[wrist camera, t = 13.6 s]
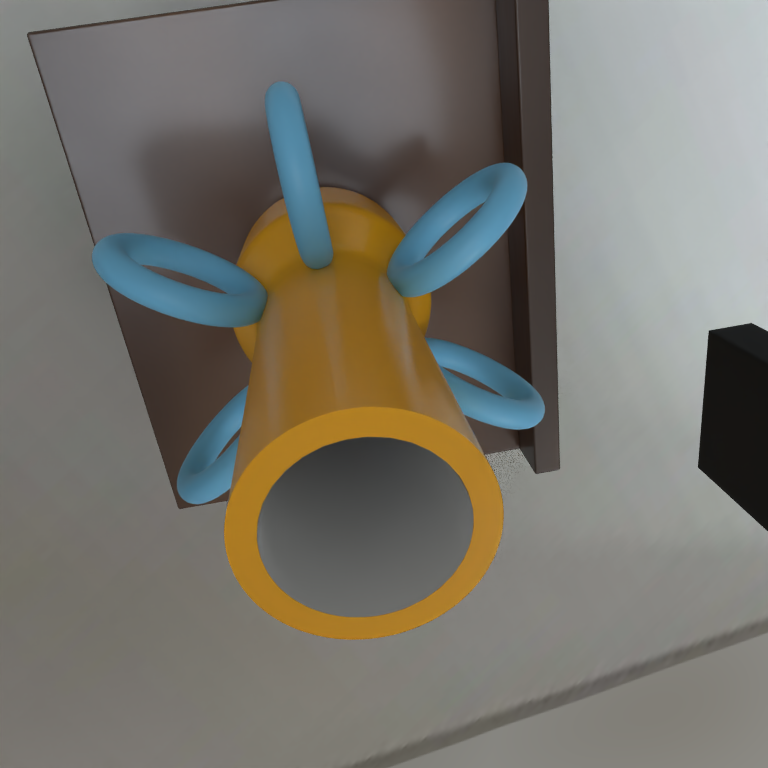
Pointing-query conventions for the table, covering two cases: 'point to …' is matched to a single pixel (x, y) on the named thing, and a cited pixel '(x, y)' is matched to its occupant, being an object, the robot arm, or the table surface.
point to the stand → (332, 163)
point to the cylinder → (344, 395)
